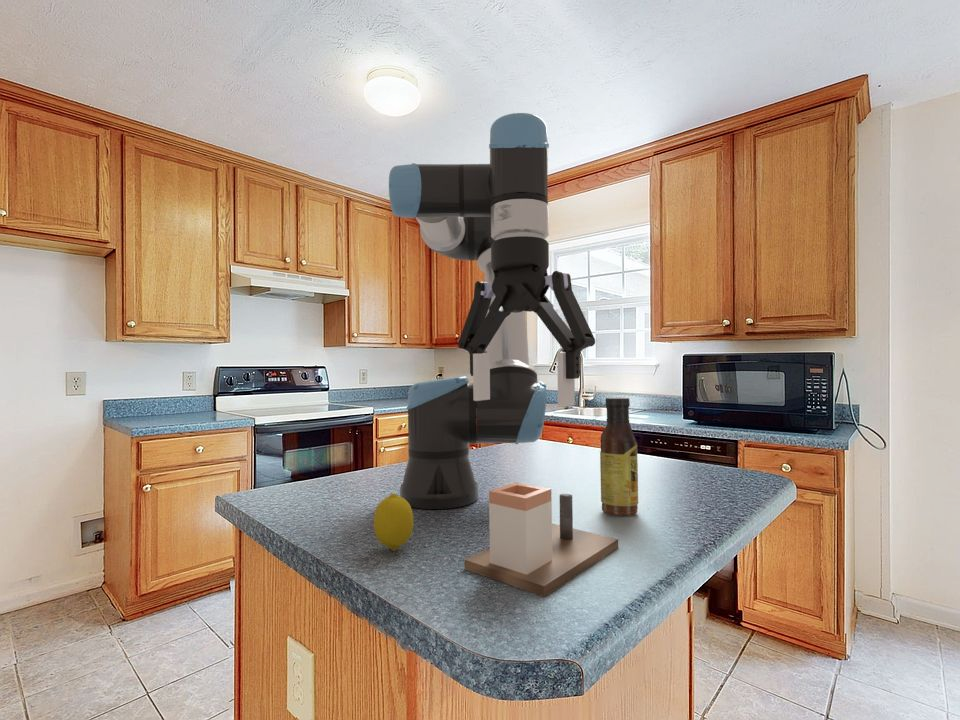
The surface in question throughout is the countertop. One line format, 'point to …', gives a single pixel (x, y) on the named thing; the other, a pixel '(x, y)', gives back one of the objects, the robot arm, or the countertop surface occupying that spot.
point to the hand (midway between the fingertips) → (521, 403)
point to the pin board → (568, 556)
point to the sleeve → (520, 527)
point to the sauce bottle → (618, 461)
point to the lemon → (393, 521)
